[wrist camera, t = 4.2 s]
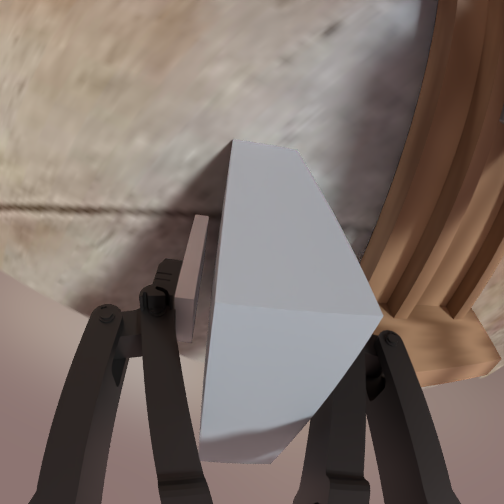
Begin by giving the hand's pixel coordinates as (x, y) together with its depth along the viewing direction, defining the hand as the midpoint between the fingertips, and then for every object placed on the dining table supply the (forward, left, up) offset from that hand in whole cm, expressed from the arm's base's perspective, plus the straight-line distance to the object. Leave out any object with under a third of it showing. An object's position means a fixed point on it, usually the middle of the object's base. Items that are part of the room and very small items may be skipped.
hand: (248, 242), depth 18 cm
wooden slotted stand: (+14, +10, -1) cm, 17 cm away
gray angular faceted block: (0, 0, -1) cm, 1 cm away
